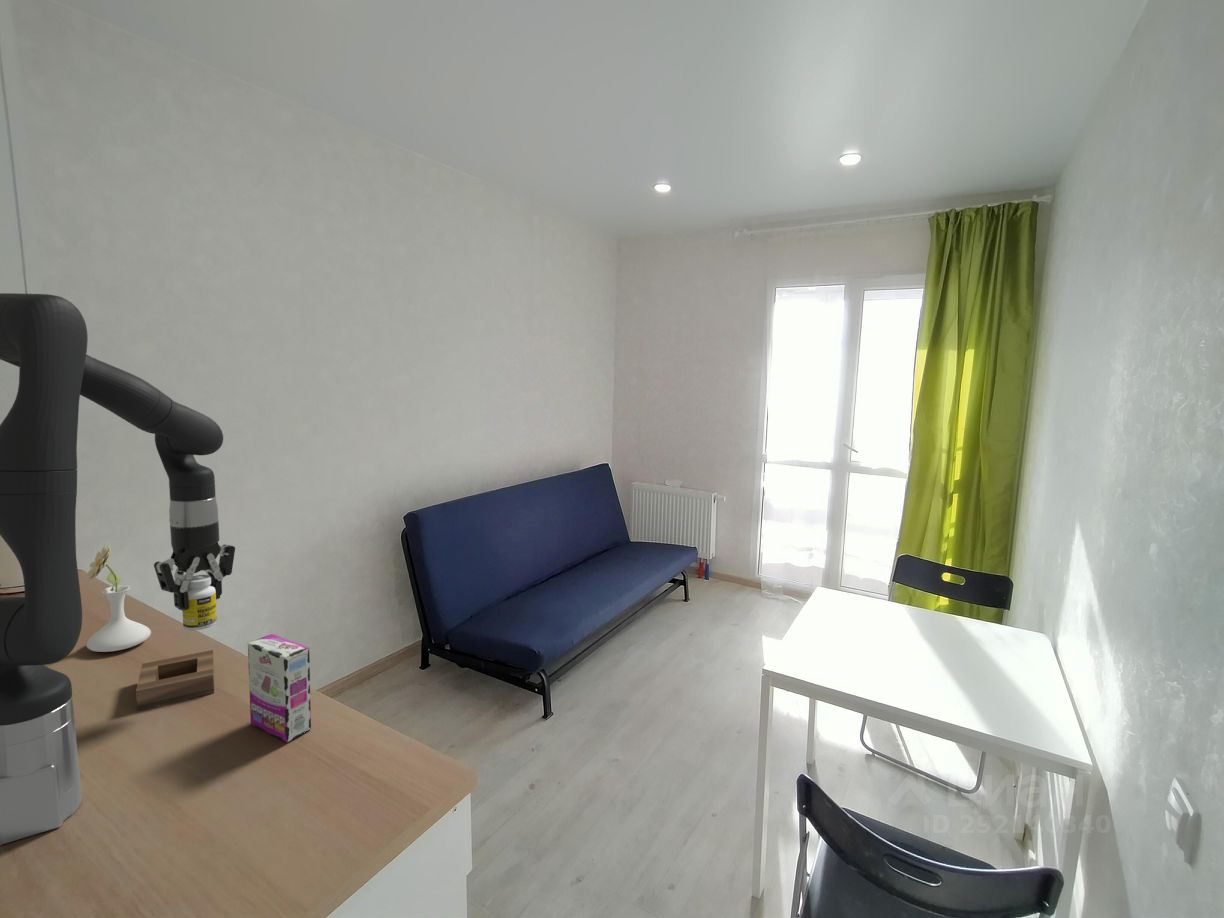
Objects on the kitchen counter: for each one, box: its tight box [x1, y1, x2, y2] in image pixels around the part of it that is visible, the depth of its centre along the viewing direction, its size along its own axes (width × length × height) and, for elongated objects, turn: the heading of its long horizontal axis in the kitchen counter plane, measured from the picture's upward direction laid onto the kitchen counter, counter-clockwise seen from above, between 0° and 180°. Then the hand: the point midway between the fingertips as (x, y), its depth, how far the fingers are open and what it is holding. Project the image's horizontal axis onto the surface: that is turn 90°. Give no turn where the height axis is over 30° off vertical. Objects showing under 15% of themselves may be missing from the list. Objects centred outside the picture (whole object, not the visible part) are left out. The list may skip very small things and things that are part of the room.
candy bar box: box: [247, 633, 312, 743], centre depth 103 cm, size 11×5×16 cm, turn 64°
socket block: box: [135, 649, 215, 711], centre depth 115 cm, size 12×12×4 cm
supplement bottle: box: [181, 574, 218, 631], centre depth 110 cm, size 5×5×10 cm
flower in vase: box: [85, 545, 152, 653], centre depth 128 cm, size 13×11×25 cm
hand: (199, 603), depth 110 cm, fingers closed on supplement bottle, 5 cm apart
